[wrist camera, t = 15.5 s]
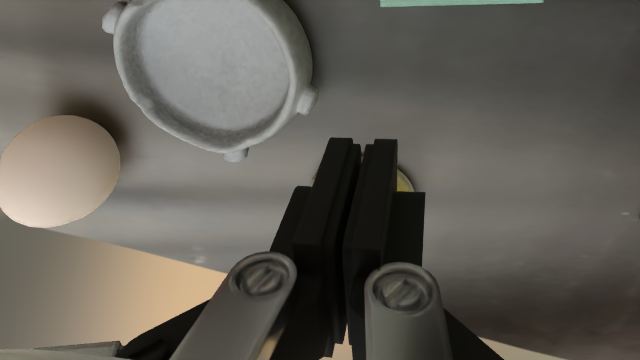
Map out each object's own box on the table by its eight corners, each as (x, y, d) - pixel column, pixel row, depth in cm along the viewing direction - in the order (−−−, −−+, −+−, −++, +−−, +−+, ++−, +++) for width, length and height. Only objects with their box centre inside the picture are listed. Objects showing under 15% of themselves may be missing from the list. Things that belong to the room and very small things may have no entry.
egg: (92, 79, 43) (-3, 147, 34) (159, 155, 46) (89, 235, 37) (37, 119, 47) (-62, 190, 38) (102, 187, 50) (26, 266, 41)
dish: (111, 8, 39) (73, 29, 35) (253, -82, 33) (226, -70, 29) (214, 154, 45) (192, 186, 41) (349, 100, 39) (339, 131, 35)
